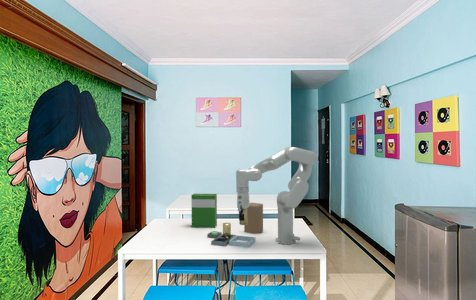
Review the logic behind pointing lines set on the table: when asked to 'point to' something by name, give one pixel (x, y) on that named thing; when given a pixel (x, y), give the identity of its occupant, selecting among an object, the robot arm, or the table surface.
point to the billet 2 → (244, 218)
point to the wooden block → (254, 219)
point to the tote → (242, 244)
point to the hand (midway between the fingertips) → (243, 219)
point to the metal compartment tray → (221, 240)
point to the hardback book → (204, 210)
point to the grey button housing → (213, 235)
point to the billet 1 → (226, 230)
